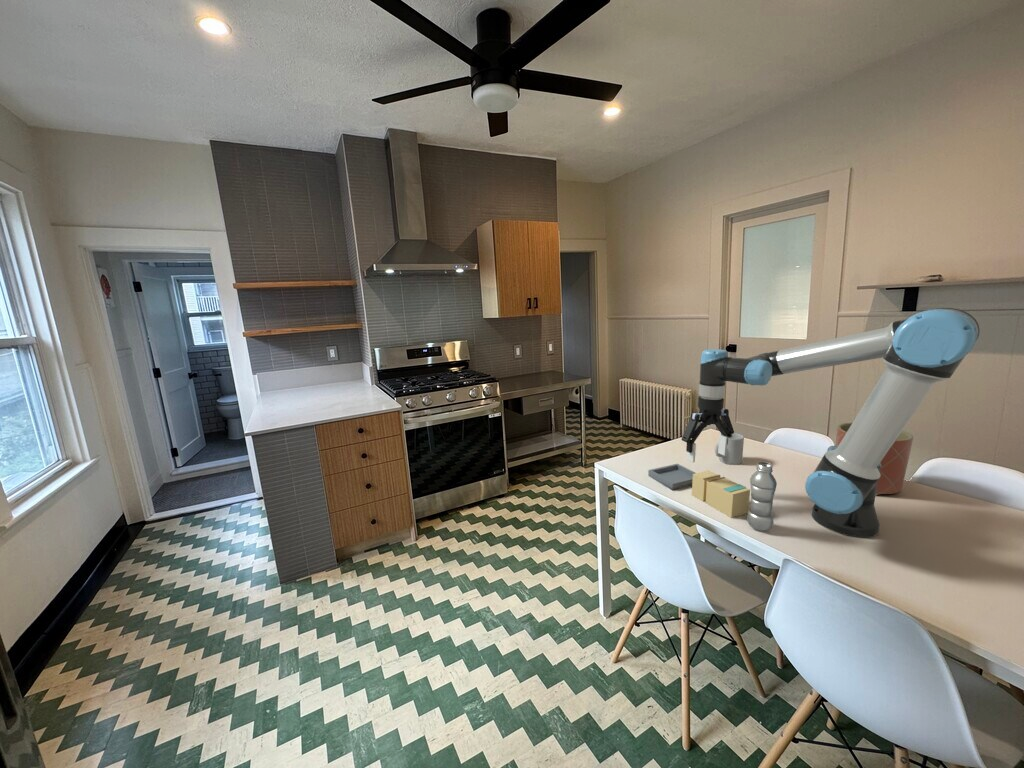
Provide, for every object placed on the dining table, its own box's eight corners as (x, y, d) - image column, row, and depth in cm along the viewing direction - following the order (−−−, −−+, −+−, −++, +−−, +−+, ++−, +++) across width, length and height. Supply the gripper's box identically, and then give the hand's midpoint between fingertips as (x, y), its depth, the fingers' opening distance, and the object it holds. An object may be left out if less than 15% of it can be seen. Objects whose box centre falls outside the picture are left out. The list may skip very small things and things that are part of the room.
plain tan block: (719, 497, 132) (720, 475, 131) (703, 501, 130) (704, 479, 128) (707, 491, 137) (708, 469, 135) (691, 495, 135) (692, 473, 133)
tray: (702, 482, 143) (703, 476, 143) (672, 490, 139) (672, 483, 138) (677, 469, 155) (677, 463, 155) (648, 475, 151) (648, 470, 150)
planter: (855, 469, 147) (862, 419, 143) (918, 492, 129) (928, 435, 125) (817, 477, 143) (823, 426, 139) (876, 502, 125) (886, 443, 120)
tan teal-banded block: (748, 512, 122) (750, 489, 120) (731, 517, 120) (733, 493, 118) (719, 497, 132) (721, 475, 130) (703, 502, 130) (705, 479, 128)
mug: (730, 455, 166) (731, 431, 164) (747, 462, 158) (749, 437, 156) (707, 459, 163) (708, 435, 160) (723, 467, 155) (725, 441, 152)
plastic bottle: (760, 535, 110) (766, 470, 106) (741, 523, 117) (746, 461, 113) (778, 531, 112) (785, 467, 108) (758, 519, 118) (763, 458, 114)
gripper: (730, 390, 134) (725, 447, 138) (672, 398, 126) (669, 459, 130) (749, 394, 127) (744, 455, 131) (689, 404, 119) (685, 468, 123)
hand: (706, 457), depth 131 cm, fingers open, 13 cm apart
